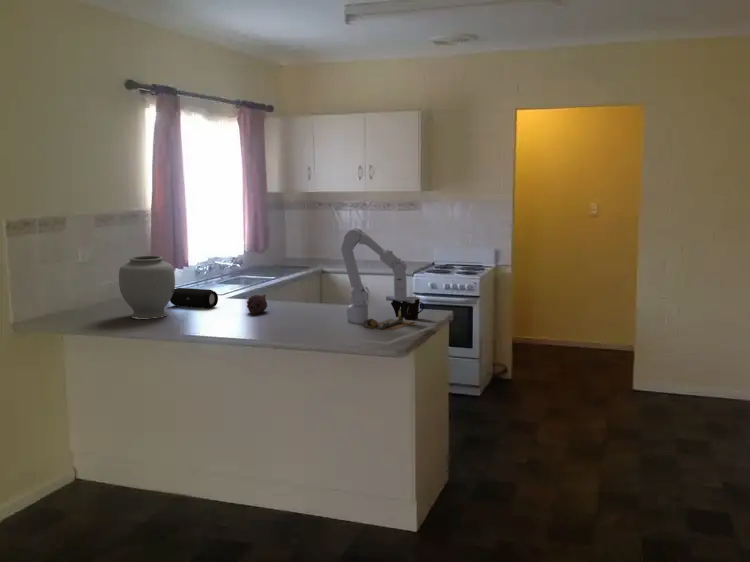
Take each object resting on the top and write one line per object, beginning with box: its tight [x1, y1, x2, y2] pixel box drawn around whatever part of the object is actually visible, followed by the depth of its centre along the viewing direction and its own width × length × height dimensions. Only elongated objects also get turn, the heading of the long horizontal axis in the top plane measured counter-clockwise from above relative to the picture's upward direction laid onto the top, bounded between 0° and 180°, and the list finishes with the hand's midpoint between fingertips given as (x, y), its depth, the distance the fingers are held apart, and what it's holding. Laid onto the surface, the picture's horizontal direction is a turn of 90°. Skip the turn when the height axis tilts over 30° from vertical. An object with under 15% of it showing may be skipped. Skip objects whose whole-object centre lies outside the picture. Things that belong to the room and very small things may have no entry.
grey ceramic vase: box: [118, 255, 176, 318], centre depth 371 cm, size 27×27×30 cm
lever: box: [378, 308, 404, 330], centre depth 333 cm, size 3×18×6 cm, turn 145°
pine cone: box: [246, 294, 268, 315], centre depth 376 cm, size 18×10×10 cm
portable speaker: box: [169, 287, 219, 309], centre depth 396 cm, size 26×10×10 cm, turn 66°
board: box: [363, 318, 418, 331], centre depth 335 cm, size 17×21×4 cm
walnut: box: [370, 319, 378, 327], centre depth 331 cm, size 3×3×3 cm
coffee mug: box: [402, 296, 425, 321], centre depth 351 cm, size 12×9×10 cm
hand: (400, 317), depth 340 cm, fingers closed on lever, 2 cm apart
